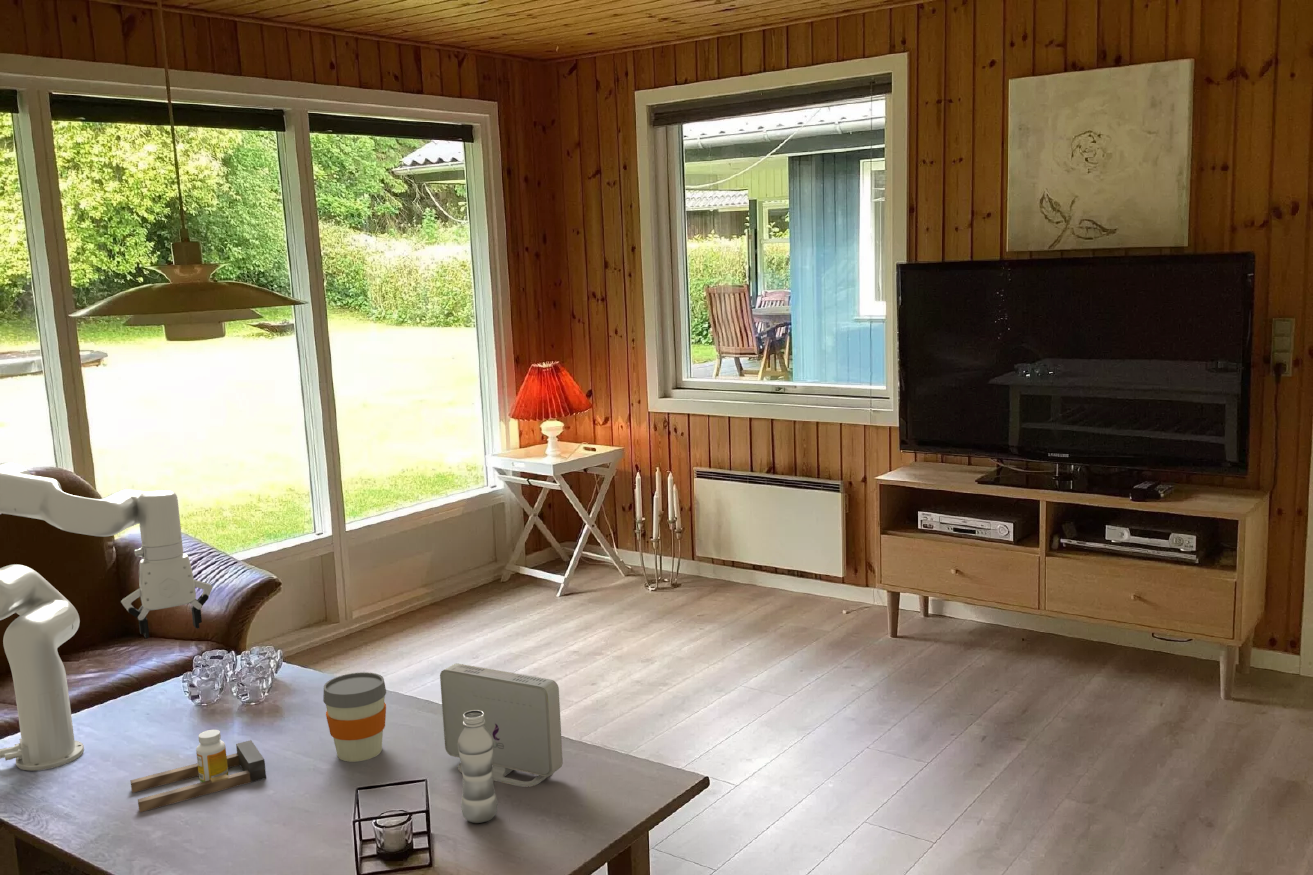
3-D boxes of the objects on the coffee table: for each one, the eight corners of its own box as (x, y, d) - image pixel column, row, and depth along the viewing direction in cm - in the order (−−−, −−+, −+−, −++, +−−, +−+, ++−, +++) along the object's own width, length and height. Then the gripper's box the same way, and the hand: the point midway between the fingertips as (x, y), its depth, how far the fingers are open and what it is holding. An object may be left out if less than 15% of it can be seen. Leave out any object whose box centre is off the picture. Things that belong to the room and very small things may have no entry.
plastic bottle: (481, 806, 207) (474, 703, 204) (506, 816, 203) (499, 712, 199) (454, 820, 202) (446, 715, 199) (479, 831, 198) (472, 724, 194)
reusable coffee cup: (399, 754, 230) (393, 685, 227) (338, 771, 223) (332, 700, 221) (379, 734, 240) (374, 667, 238) (320, 749, 234) (314, 681, 231)
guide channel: (140, 812, 209) (137, 792, 209) (131, 789, 219) (129, 770, 218) (266, 778, 221) (264, 759, 221) (253, 758, 231) (251, 740, 230)
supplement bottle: (233, 773, 224) (228, 727, 222) (220, 786, 219) (215, 739, 217) (208, 773, 224) (203, 727, 223) (194, 786, 219) (189, 739, 218)
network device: (439, 767, 223) (432, 672, 220) (465, 750, 231) (459, 657, 228) (546, 792, 211) (540, 692, 208) (571, 773, 219) (566, 675, 216)
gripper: (119, 562, 220) (128, 645, 223) (211, 548, 230) (219, 628, 232) (114, 554, 227) (123, 635, 230) (204, 540, 236) (212, 618, 239)
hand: (171, 631), depth 231 cm, fingers open, 9 cm apart
